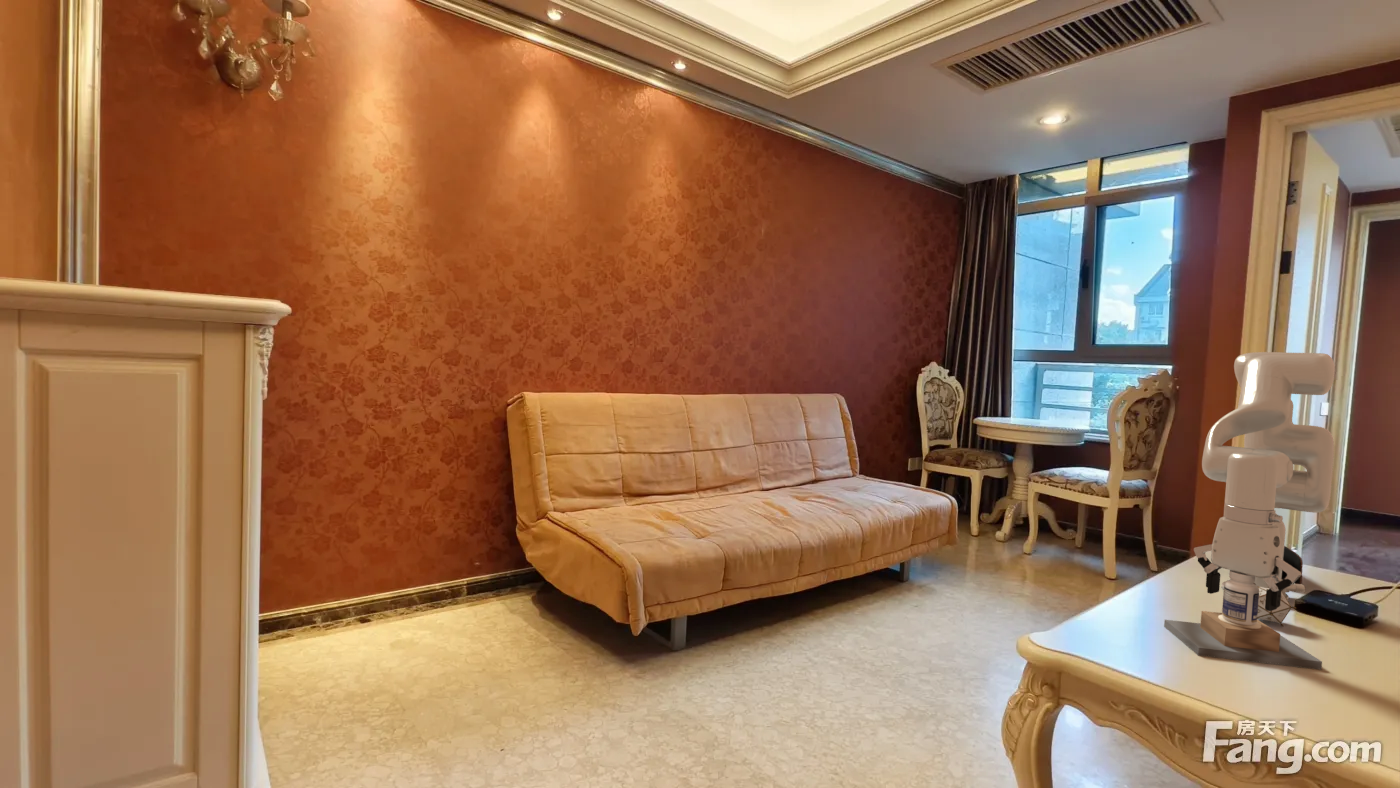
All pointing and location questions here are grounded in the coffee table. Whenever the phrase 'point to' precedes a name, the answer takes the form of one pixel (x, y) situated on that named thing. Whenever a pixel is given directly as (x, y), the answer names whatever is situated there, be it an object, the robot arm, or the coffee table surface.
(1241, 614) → the pill bottle
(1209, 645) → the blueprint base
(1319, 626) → the coffee table surface
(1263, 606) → the game die
